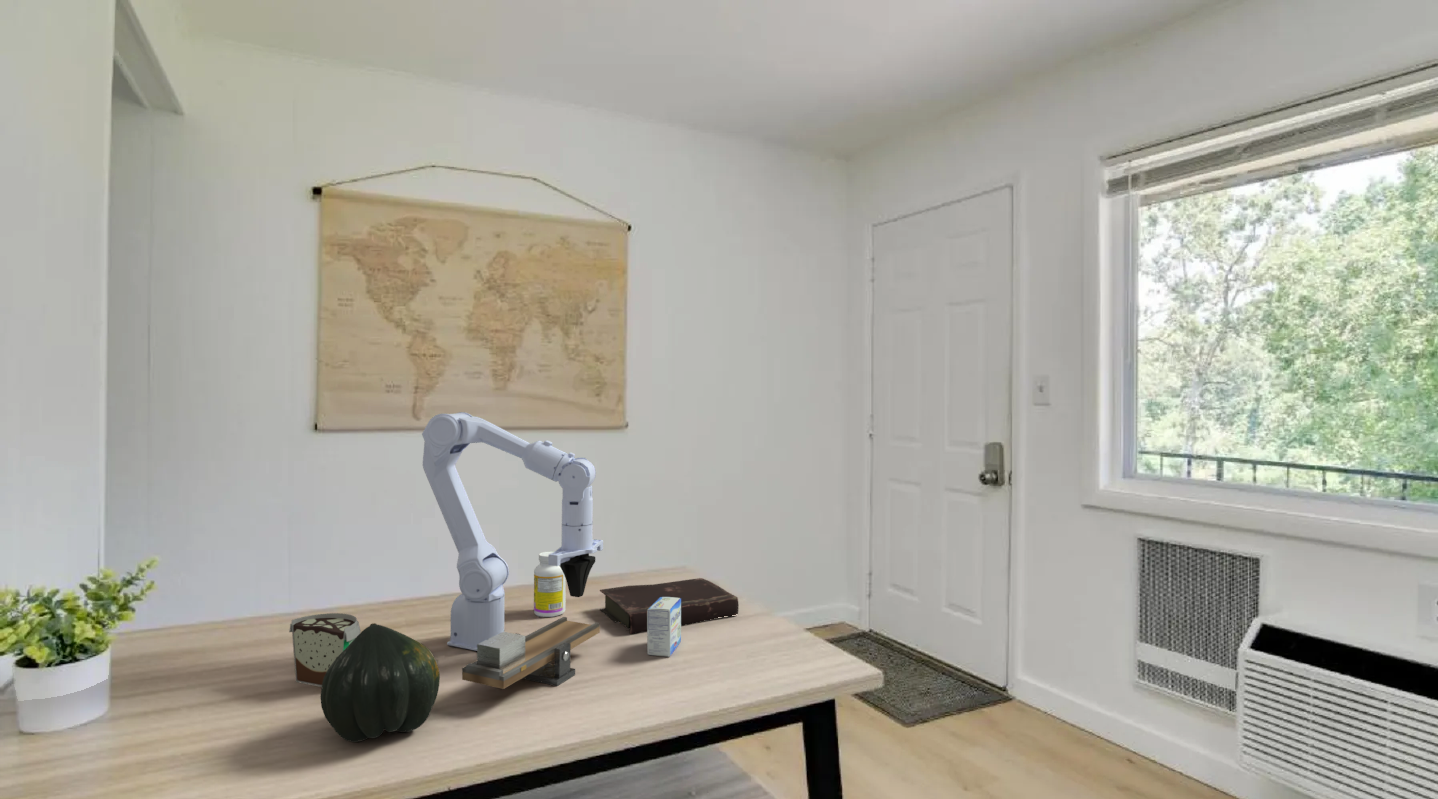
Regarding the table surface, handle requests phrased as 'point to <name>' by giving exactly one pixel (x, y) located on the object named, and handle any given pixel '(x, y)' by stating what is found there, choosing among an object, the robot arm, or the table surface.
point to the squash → (379, 685)
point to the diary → (695, 596)
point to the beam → (533, 652)
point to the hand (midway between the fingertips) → (576, 595)
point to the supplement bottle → (549, 588)
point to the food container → (320, 643)
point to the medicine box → (664, 626)
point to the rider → (501, 651)
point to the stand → (554, 668)
